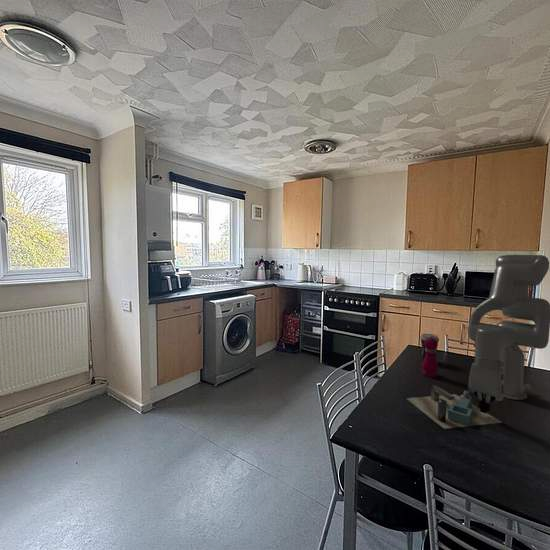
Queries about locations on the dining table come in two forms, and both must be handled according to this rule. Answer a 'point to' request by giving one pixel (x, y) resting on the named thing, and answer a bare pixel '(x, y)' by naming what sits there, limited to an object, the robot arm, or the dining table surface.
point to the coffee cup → (423, 338)
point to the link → (461, 409)
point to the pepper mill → (430, 358)
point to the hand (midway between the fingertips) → (484, 411)
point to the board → (431, 409)
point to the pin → (442, 410)
